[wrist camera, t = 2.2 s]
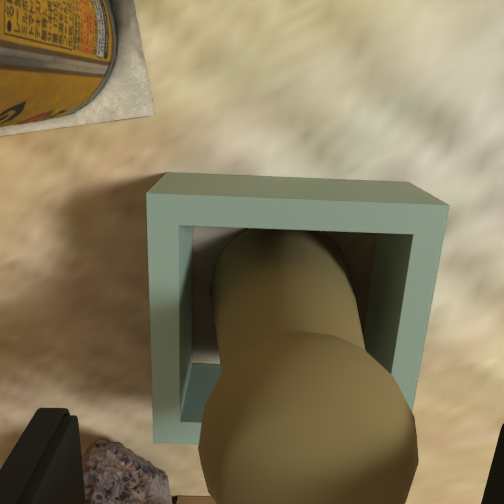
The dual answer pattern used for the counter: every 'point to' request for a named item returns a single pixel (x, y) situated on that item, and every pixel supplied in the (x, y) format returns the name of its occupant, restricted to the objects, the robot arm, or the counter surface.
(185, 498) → the gray open box
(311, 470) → the tan rounded piece
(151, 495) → the perforated stone tool
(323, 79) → the counter surface
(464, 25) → the counter surface
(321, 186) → the shaker holder
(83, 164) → the counter surface
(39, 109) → the condiment
